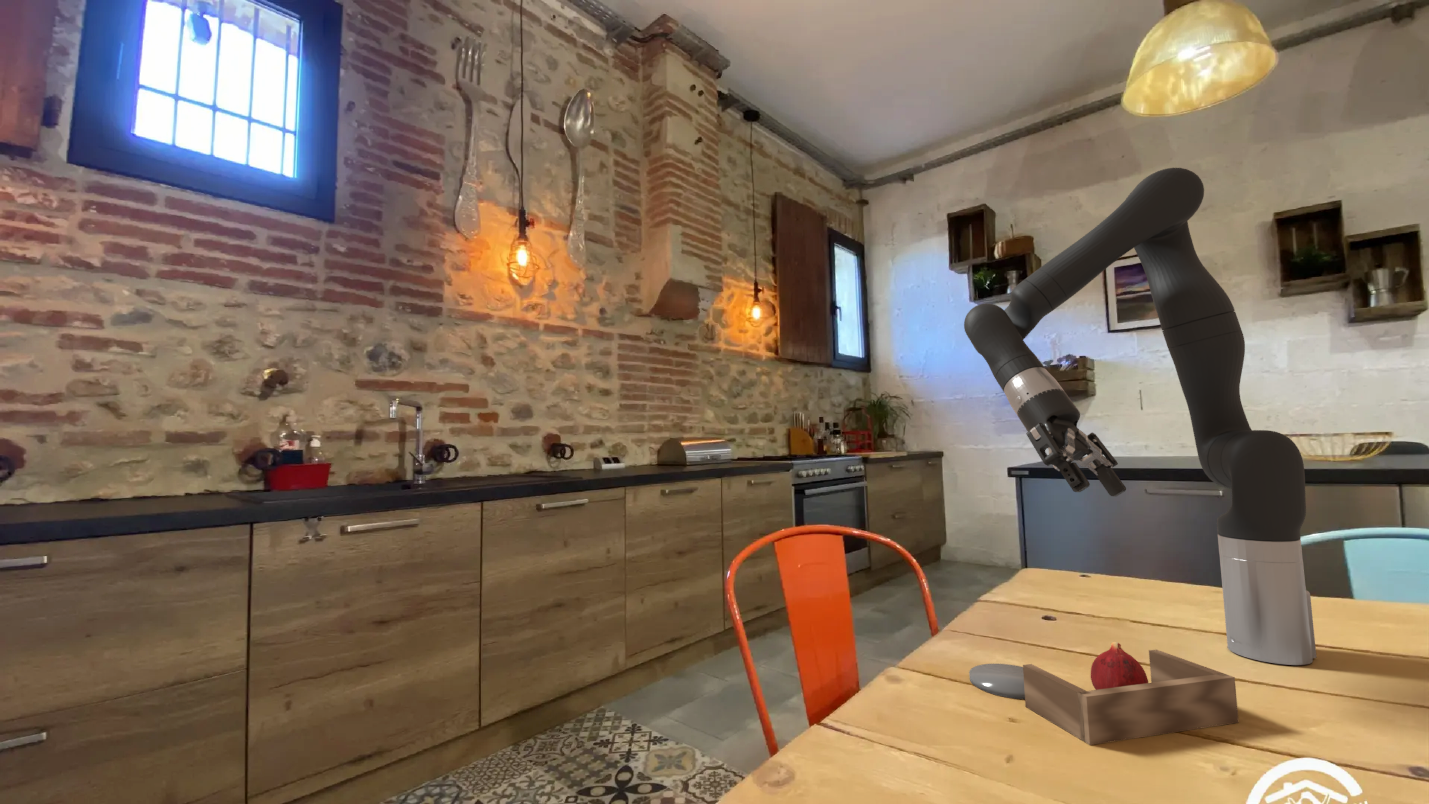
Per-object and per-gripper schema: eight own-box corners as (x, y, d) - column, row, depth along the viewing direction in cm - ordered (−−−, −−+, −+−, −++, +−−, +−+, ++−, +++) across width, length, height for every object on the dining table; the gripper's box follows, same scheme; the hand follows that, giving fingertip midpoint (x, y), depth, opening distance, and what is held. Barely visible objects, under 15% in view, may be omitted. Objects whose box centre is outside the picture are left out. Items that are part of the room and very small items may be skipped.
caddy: (1159, 689, 77) (1156, 649, 77) (1238, 722, 67) (1234, 677, 68) (1025, 706, 72) (1022, 664, 73) (1089, 744, 63) (1086, 696, 63)
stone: (1016, 666, 85) (1015, 660, 85) (1070, 694, 76) (1070, 687, 76) (954, 673, 83) (954, 667, 83) (1002, 703, 74) (1002, 696, 74)
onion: (1161, 724, 67) (1155, 652, 68) (1105, 720, 68) (1100, 650, 69) (1136, 702, 73) (1131, 635, 74) (1084, 699, 74) (1080, 634, 75)
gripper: (1028, 380, 87) (1093, 472, 77) (1087, 394, 93) (1154, 480, 83) (991, 412, 92) (1048, 502, 82) (1050, 423, 98) (1108, 508, 88)
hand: (1101, 491), depth 82 cm, fingers open, 8 cm apart
